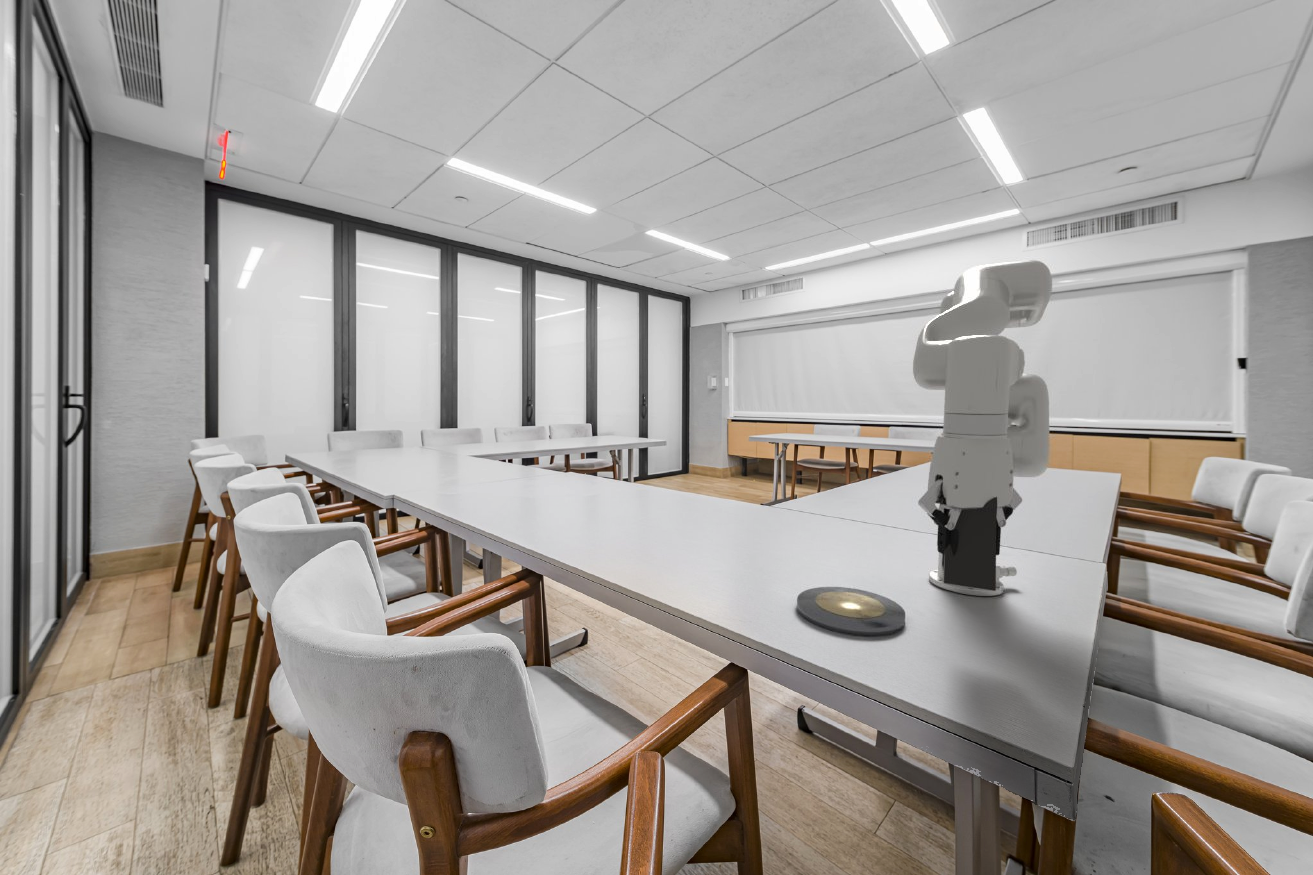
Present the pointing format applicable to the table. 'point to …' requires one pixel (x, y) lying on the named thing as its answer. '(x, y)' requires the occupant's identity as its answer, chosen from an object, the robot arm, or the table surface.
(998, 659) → the table surface
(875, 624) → the rosette plate
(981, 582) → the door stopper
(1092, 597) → the table surface
